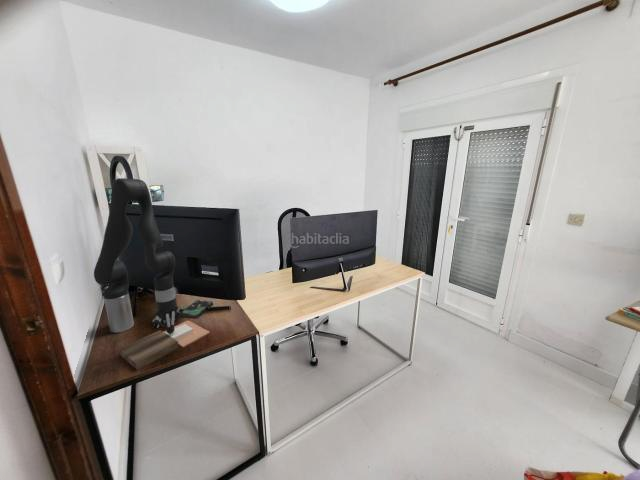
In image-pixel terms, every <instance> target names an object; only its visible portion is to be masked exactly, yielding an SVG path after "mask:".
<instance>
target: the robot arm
mask: <svg viewBox="0 0 640 480" xmlns="http://www.w3.org/2000/svg"><path fill="white" fill-rule="evenodd" d="M133 202H137V204H138V206H139V210H140V216H139V220H138V225H137V232H138V235H139V237H140V240H141V243H142V245H143V249H144V262H145V266H146V269H147V270H148V271H150V272H153V273H154V272H155V273H156V272H160V271H161V272H160V273H158V274H156V275H155V276H154V277H153V285H154V297H155V302H156V304H155V305H156V310H157V312H156V316H155V317H154V318H152V319H151V321H152V322H153V323H154V324H156V325H158V326H160V327H162V328H163V329H165V331H166V332H167V333H169V334H171V333H173V332H174V330H175V329H174V327H175V323H178V322H179V319H180V318H181V314H182V313H183V311H184V310H185V309H183V308H181V307H179V306H178V304H177V303H178V302H177V296H176V295H177V293H176V288H175V286H174V285H175V284H174V278H173V277H174V274H175V268H176V257H175V255H174V254H173V252H171V251H167V250H166V251H162V252H158V253H156V250H157V249H159V248H161V247H162V246H163V245H164V240H163V237H162V235H161V232H160V230H159V228H158V225H157V222H156V218H155V213H154V207H153V203H152V199H151V195H150V191H149V187H148V185H147V183H146V182H145V181H144V180H142V179H138V178H122V177H121V178H120V177H119V178H116V179H115V180H114V181H113V183H112V186H111V191H110V202H109V204H110V205H109V213H108V218H107V222H106V223H107V224H106V226H105V231H104V235H103V242H102V245H101V248H100V249H101V250H100V253H99V256H98V258H97V261H96V264H95V267H94V270H93V278H94V281H95V282H96V283H97V284H98V285H101V286H107V285H109V286H108V287H107V288H105V289H104V291H103V292H102V295H103V301H104V306H105V311H106V314H107V315H106V316H107V321H108V326H109V331H110V333H122V332H126V331H128V330H129V329H132V327H134V325H135V323H134V317H133V311H132V305H131V299H130V294H129V288H130V283H129V273H128V272H129V271H128V268H127V266H126V264H125V262H123V261H121V260H118V258H119V257H120V256H121V255H122V253H124V251H125V250H126V249H127V248H128V247H129V244H130V243H131V241H132V236H133V233H134V228H133V224H132V223H131V221H130V219H129V217H128V216H127V206H128V203H133ZM161 320H163V322H161Z"/></svg>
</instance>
